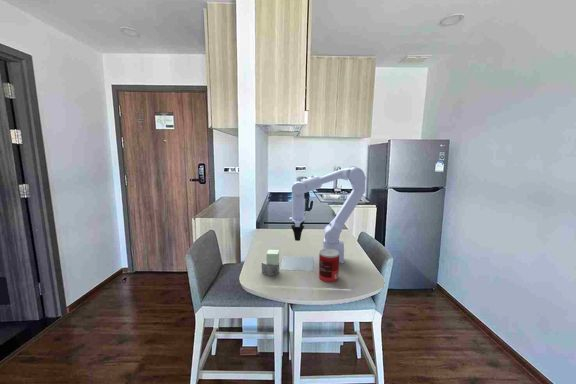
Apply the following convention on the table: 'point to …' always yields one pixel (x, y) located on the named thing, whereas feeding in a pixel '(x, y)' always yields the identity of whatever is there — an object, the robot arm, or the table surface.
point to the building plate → (297, 263)
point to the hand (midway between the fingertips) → (297, 237)
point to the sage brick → (272, 257)
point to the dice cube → (270, 269)
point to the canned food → (328, 265)
